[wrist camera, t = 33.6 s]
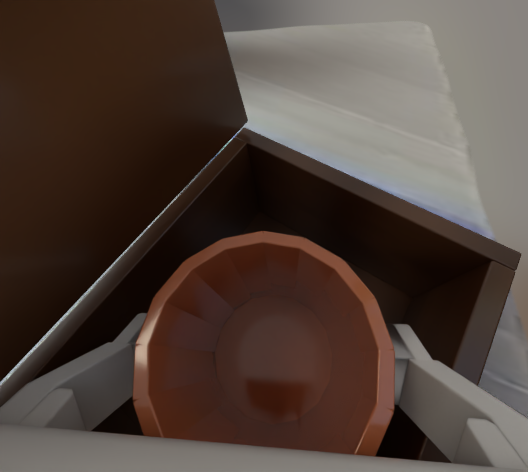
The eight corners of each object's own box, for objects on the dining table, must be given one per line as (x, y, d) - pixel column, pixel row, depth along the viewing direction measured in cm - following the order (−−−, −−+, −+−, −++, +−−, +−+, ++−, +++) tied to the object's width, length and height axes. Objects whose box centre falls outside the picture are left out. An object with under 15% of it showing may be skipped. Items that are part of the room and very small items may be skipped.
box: (424, 297, 16) (523, 253, 9) (286, 603, 11) (286, 969, 4) (258, 204, 20) (243, 126, 13) (100, 400, 15) (-48, 434, 8)
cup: (292, 466, 11) (302, 629, 4) (185, 370, 13) (80, 382, 6) (360, 336, 13) (438, 312, 6) (258, 270, 15) (236, 198, 8)
